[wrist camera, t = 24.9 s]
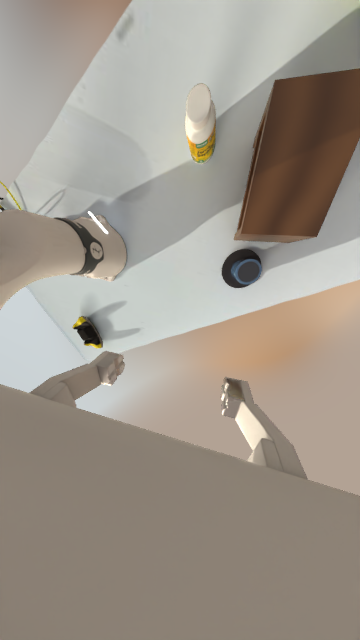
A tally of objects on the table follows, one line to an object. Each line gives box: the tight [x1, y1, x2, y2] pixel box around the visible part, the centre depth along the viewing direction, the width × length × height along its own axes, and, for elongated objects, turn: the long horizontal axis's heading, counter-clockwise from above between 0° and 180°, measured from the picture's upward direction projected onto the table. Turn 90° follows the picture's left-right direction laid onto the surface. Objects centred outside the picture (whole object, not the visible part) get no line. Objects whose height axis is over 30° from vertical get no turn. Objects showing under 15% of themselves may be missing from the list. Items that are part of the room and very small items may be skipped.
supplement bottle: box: [185, 83, 216, 164], centre depth 25 cm, size 5×5×10 cm
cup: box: [231, 259, 262, 284], centre depth 33 cm, size 5×5×8 cm
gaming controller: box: [72, 316, 103, 348], centre depth 57 cm, size 15×6×10 cm
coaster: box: [222, 249, 261, 288], centre depth 37 cm, size 10×10×1 cm
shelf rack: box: [234, 69, 360, 243], centre depth 26 cm, size 13×18×10 cm
